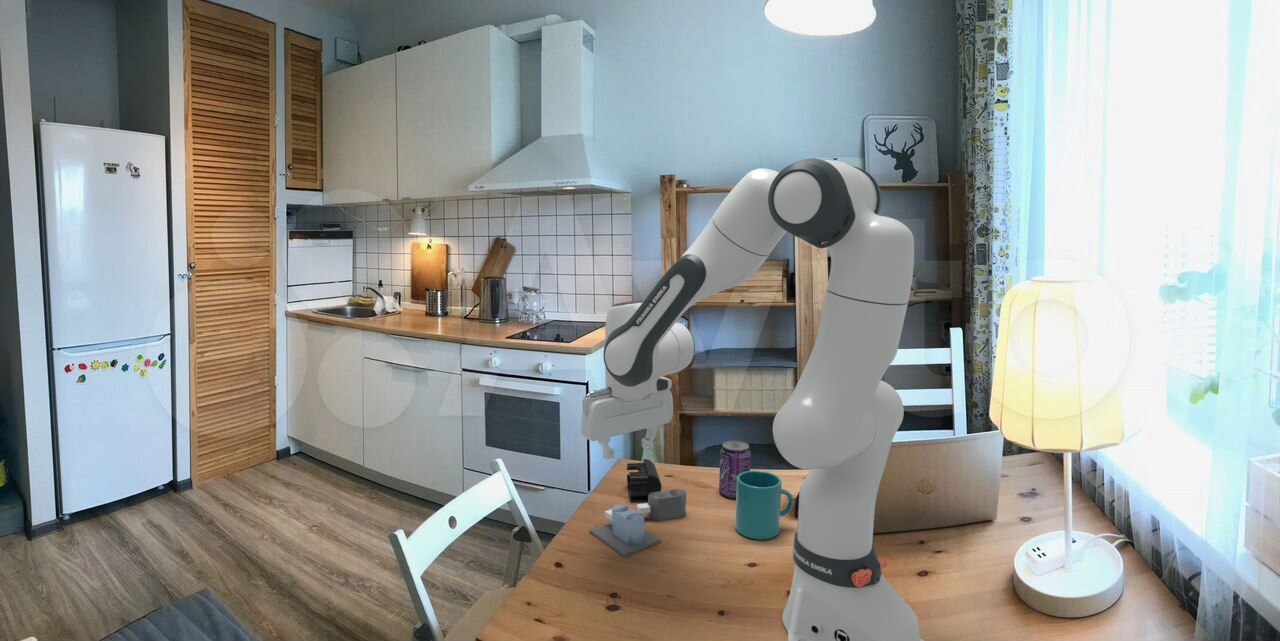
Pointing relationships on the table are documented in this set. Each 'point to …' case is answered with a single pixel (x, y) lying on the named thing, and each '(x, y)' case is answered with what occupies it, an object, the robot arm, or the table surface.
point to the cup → (759, 504)
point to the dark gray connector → (664, 505)
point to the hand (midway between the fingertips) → (628, 452)
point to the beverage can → (733, 465)
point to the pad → (619, 545)
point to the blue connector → (627, 524)
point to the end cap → (642, 481)
